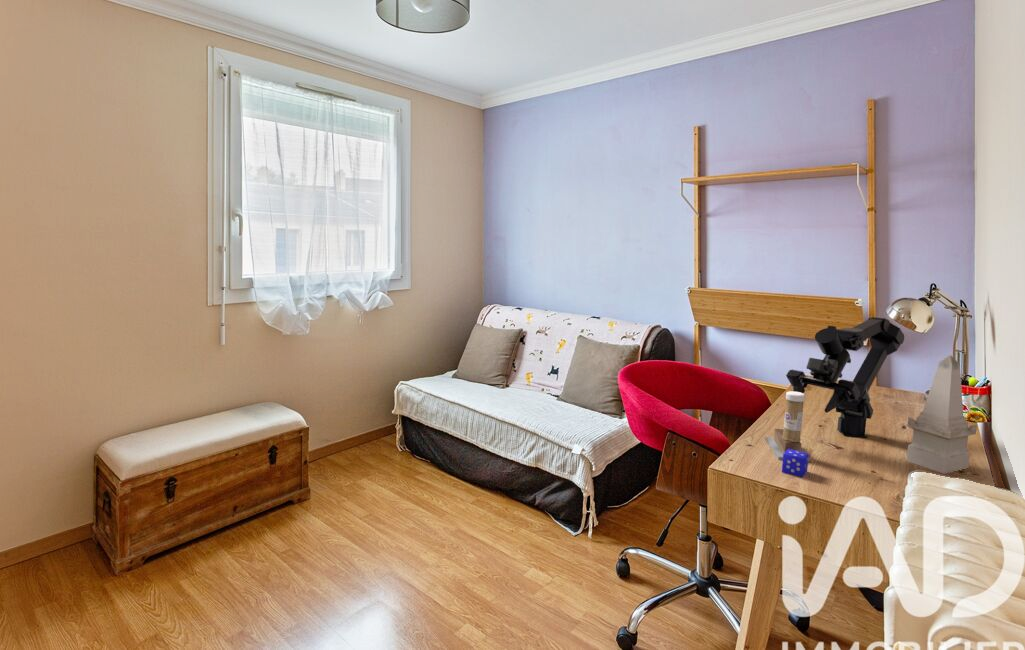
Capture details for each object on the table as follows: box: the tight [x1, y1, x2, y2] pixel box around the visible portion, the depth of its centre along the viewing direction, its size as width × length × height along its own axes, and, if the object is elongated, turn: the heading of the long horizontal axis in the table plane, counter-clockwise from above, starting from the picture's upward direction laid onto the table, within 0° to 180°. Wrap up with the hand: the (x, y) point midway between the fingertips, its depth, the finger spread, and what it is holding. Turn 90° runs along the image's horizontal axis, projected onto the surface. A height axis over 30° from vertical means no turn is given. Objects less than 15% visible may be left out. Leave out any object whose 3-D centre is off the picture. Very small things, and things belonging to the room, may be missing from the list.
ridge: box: [764, 428, 812, 463], centre depth 156 cm, size 8×16×4 cm, turn 168°
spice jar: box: [783, 390, 806, 442], centre depth 151 cm, size 5×5×14 cm
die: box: [781, 449, 810, 478], centre depth 141 cm, size 5×5×5 cm
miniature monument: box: [905, 354, 978, 475], centre depth 145 cm, size 10×10×30 cm
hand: (808, 407), depth 155 cm, fingers open, 9 cm apart
